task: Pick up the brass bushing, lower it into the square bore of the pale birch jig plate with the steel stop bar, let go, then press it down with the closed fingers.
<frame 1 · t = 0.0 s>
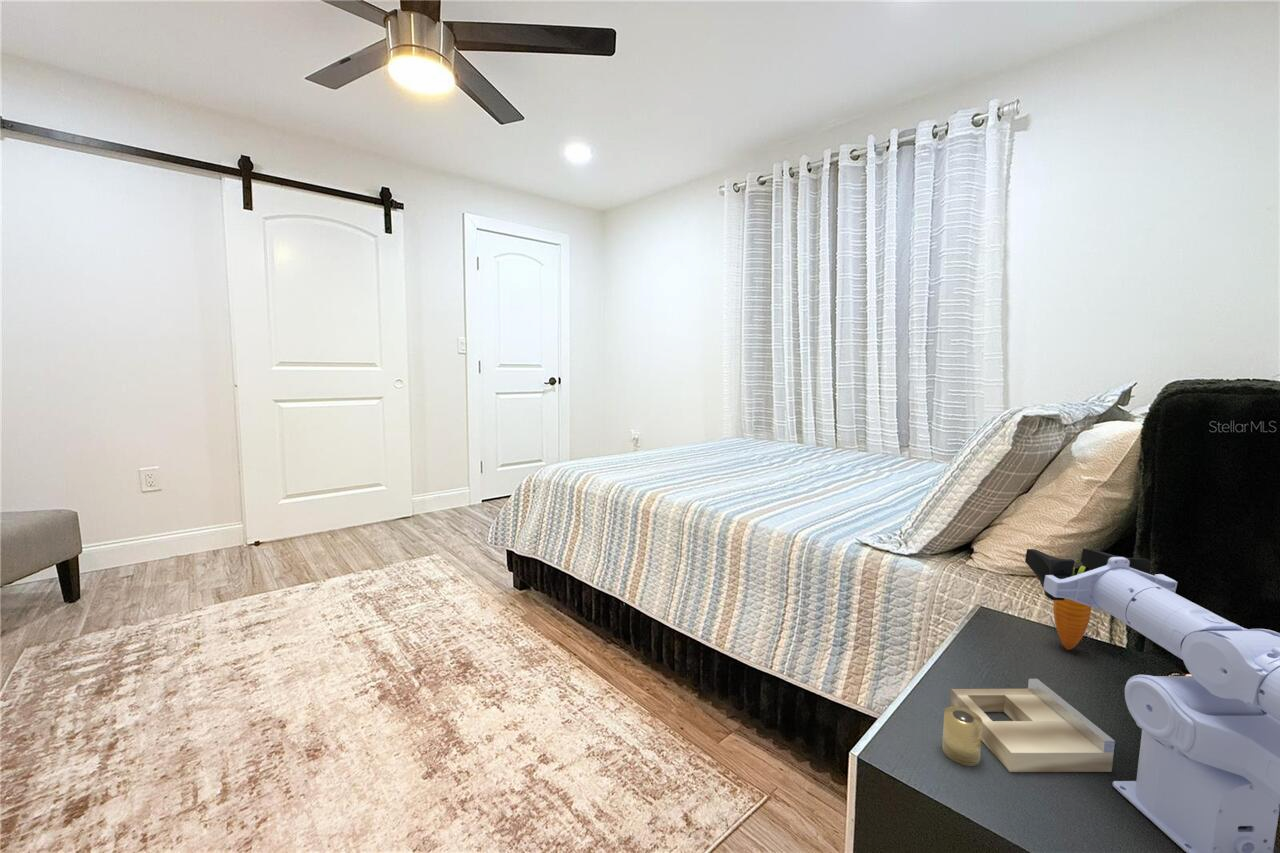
hand: (1056, 555, 71), 22 cm above the nightstand, tool horizontal, fingers open, 7 cm apart
jig: (1023, 735, 67), on the nightstand
carrot: (1067, 650, 86), on the nightstand
bushing: (960, 753, 64), on the nightstand
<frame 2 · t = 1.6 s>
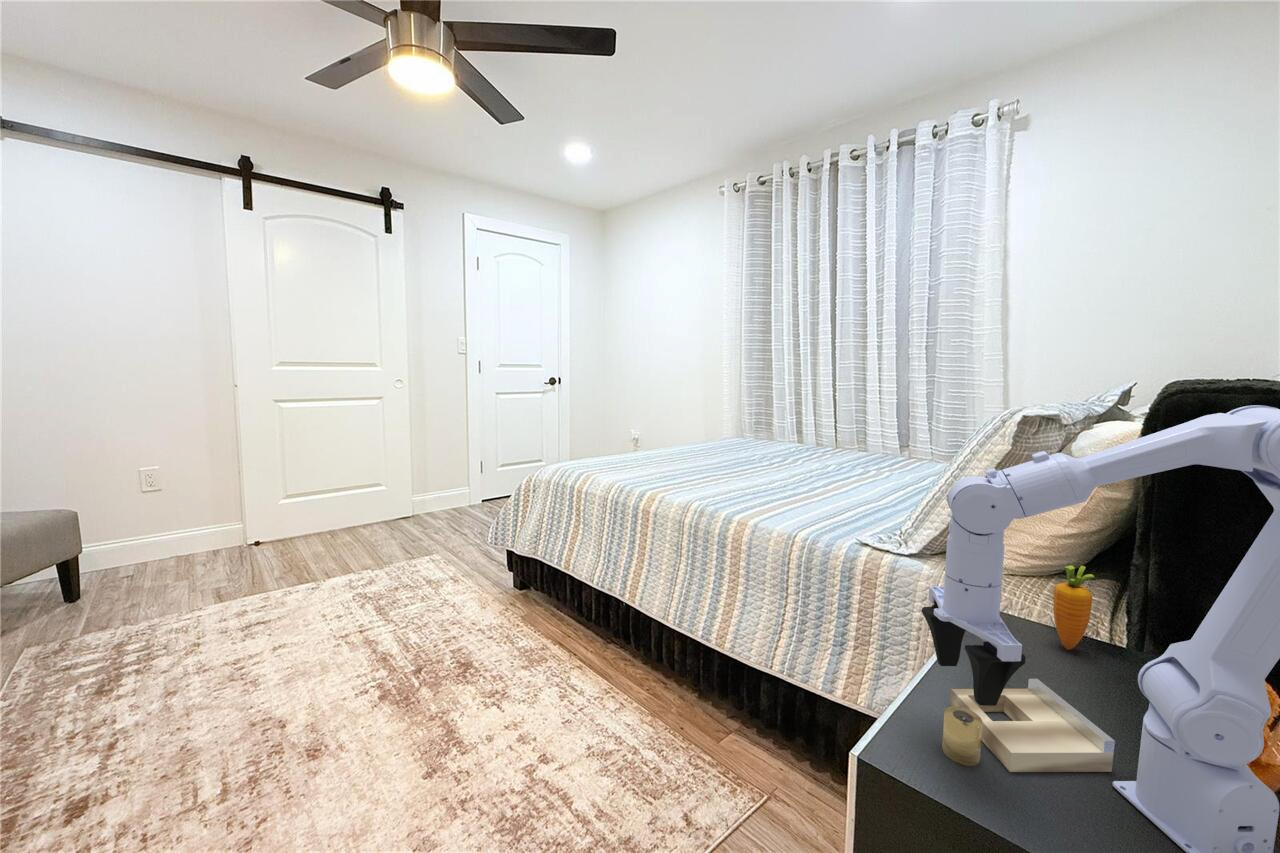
hand: (965, 683, 63), 9 cm above the nightstand, tool pointing down, fingers open, 7 cm apart
nothing on the nightstand moved.
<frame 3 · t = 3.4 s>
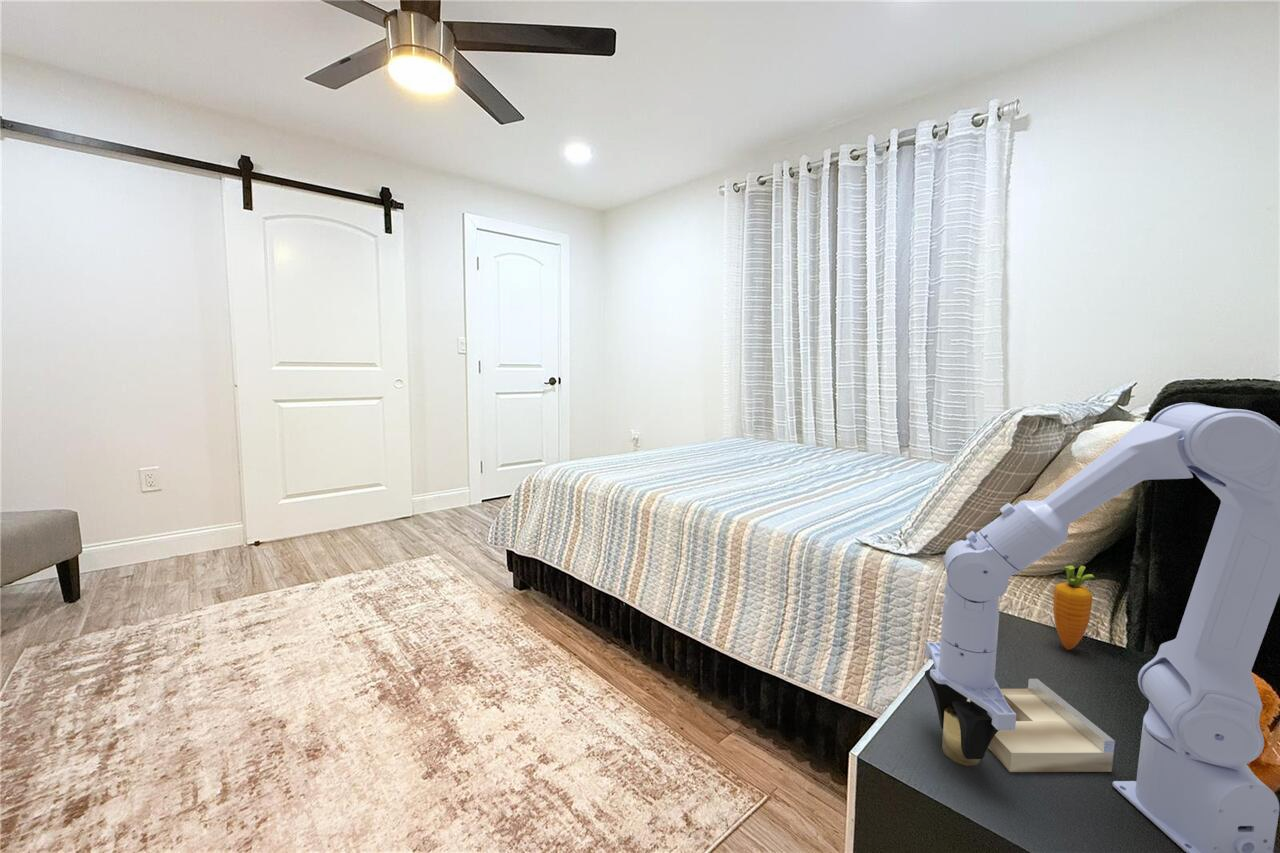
hand: (961, 742, 64), 1 cm above the nightstand, tool pointing down, fingers closed on bushing, 4 cm apart
bushing: (960, 753, 64), on the nightstand, touching gripper
everything else where it was.
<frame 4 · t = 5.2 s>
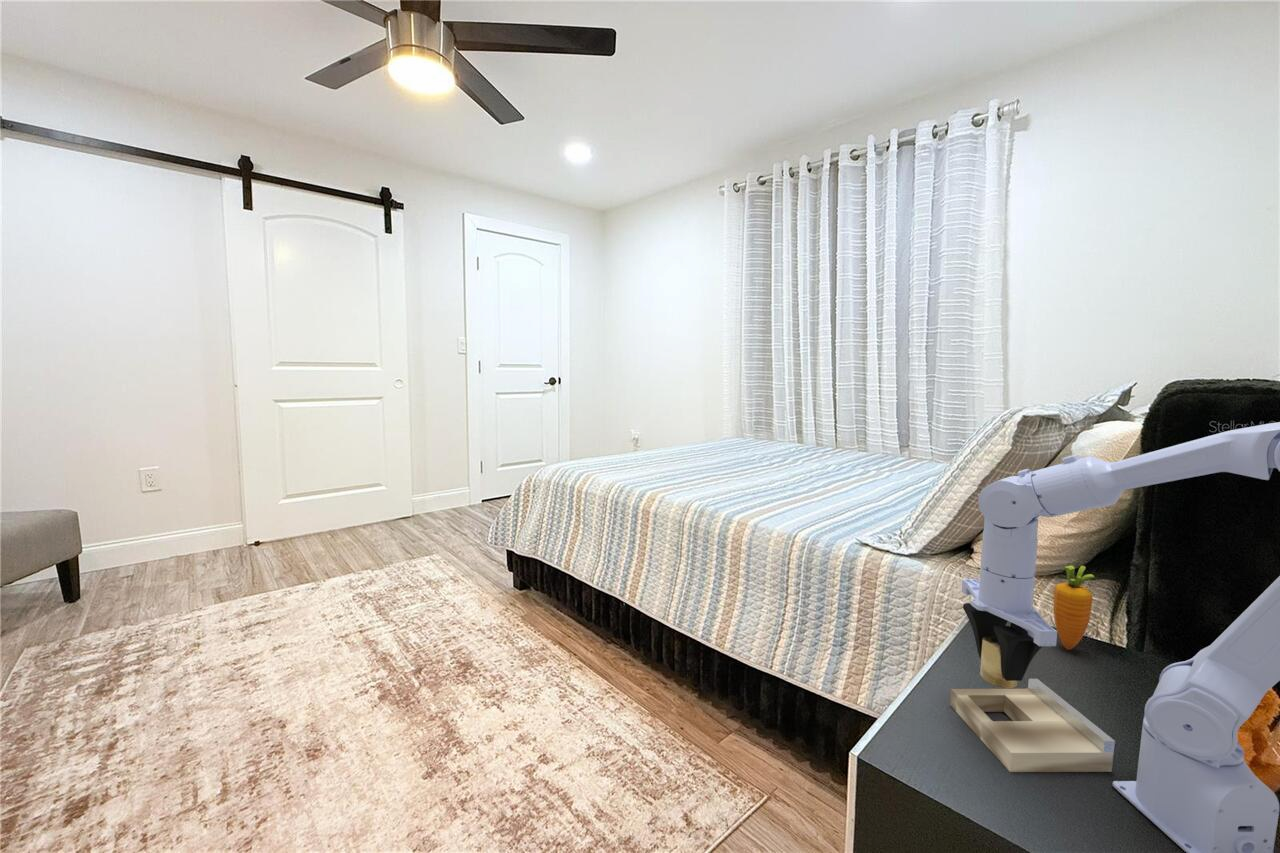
hand: (999, 668, 67), 8 cm above the nightstand, tool pointing down, fingers closed on bushing, 4 cm apart
bushing: (998, 678, 67), point 7 cm above the nightstand, touching gripper
everything else where it was.
when the fingers open (3 cm above the nightstand, at t = 6.9 s): bushing drops 2 cm, resting in jig.
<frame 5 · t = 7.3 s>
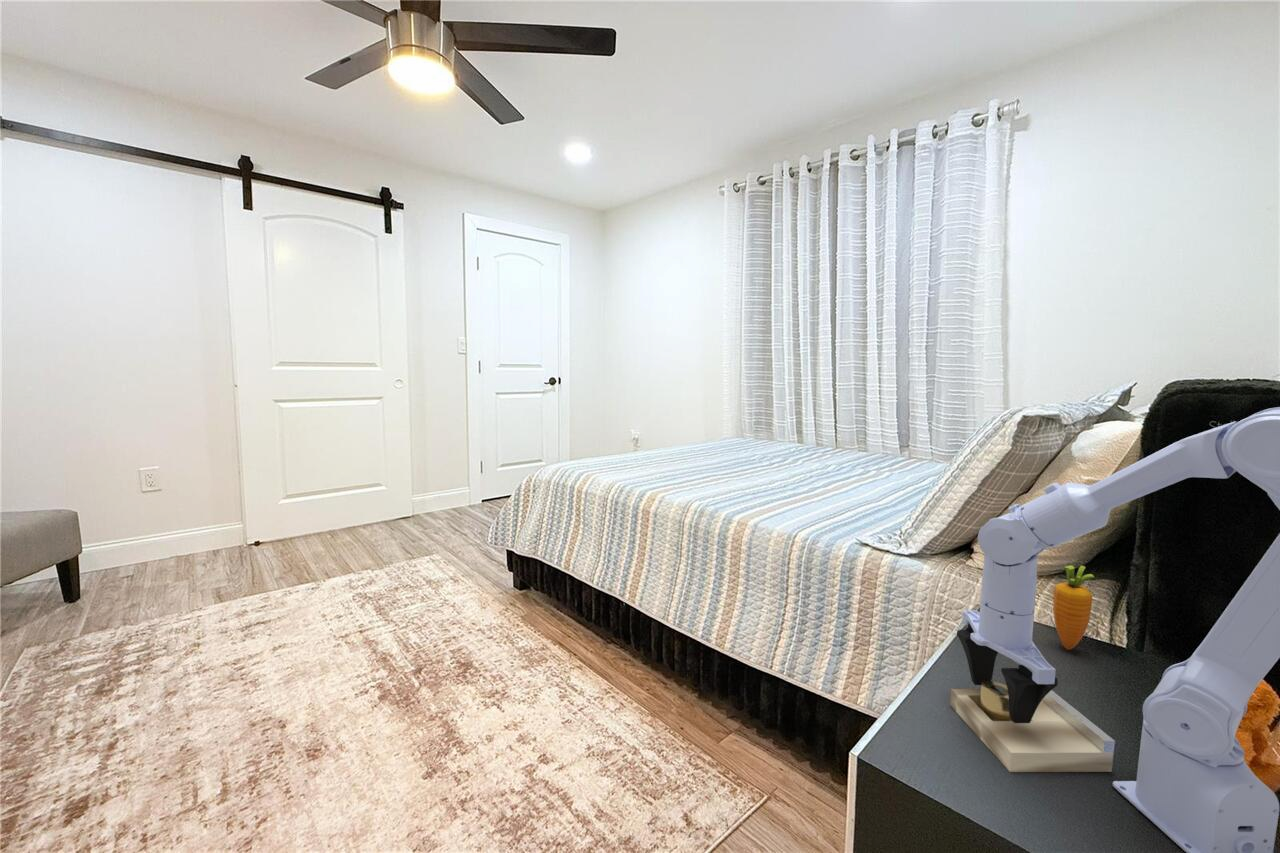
hand: (999, 701, 68), 3 cm above the nightstand, tool pointing down, fingers open, 7 cm apart
bushing: (996, 724, 69), resting in jig
everything else where it was.
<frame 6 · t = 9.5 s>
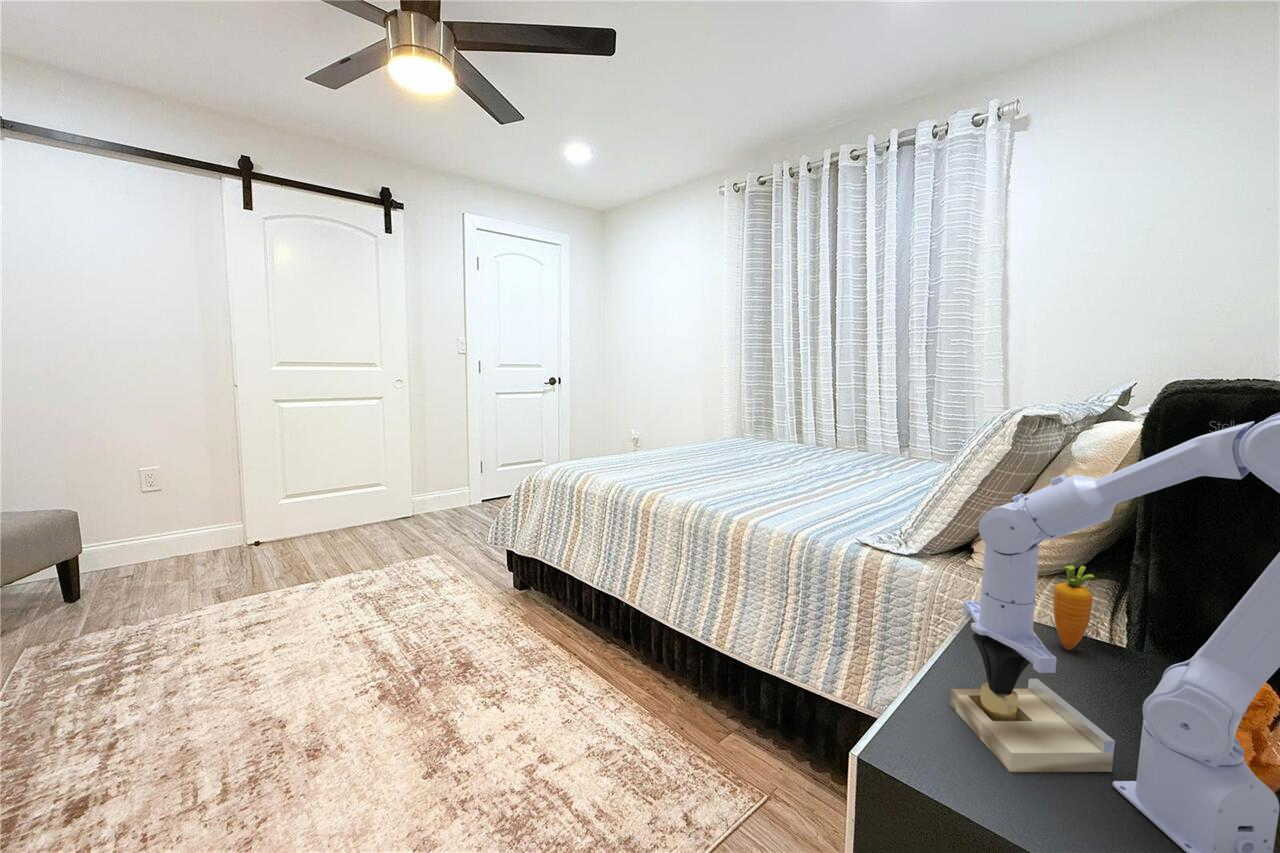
hand: (1000, 691, 68), 5 cm above the nightstand, tool pointing down, fingers closed, pressing on bushing
bushing: (996, 725, 69), resting in jig, touching gripper
everything else where it was.
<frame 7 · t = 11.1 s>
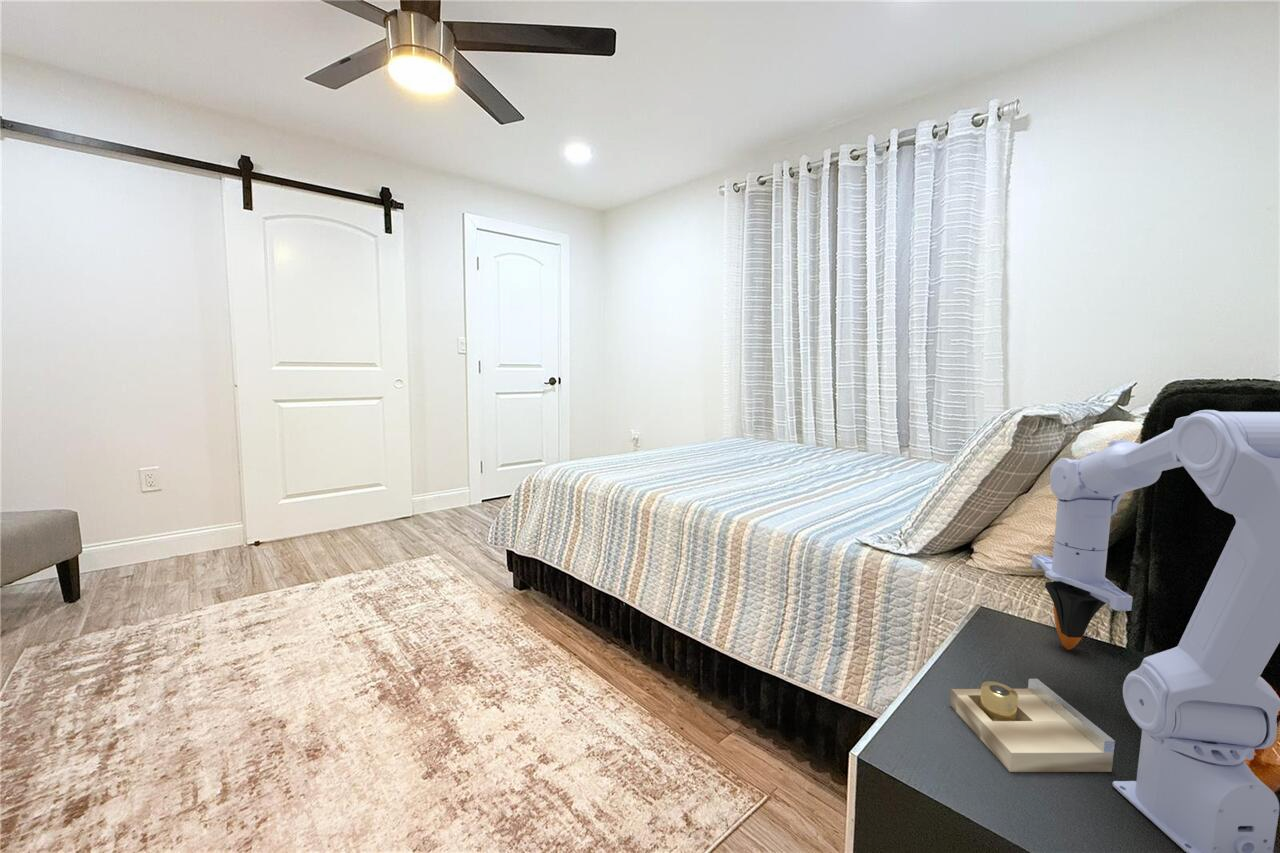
hand: (1071, 634, 73), 9 cm above the nightstand, tool pointing down, fingers closed
bushing: (996, 724, 69), resting in jig
everything else where it was.
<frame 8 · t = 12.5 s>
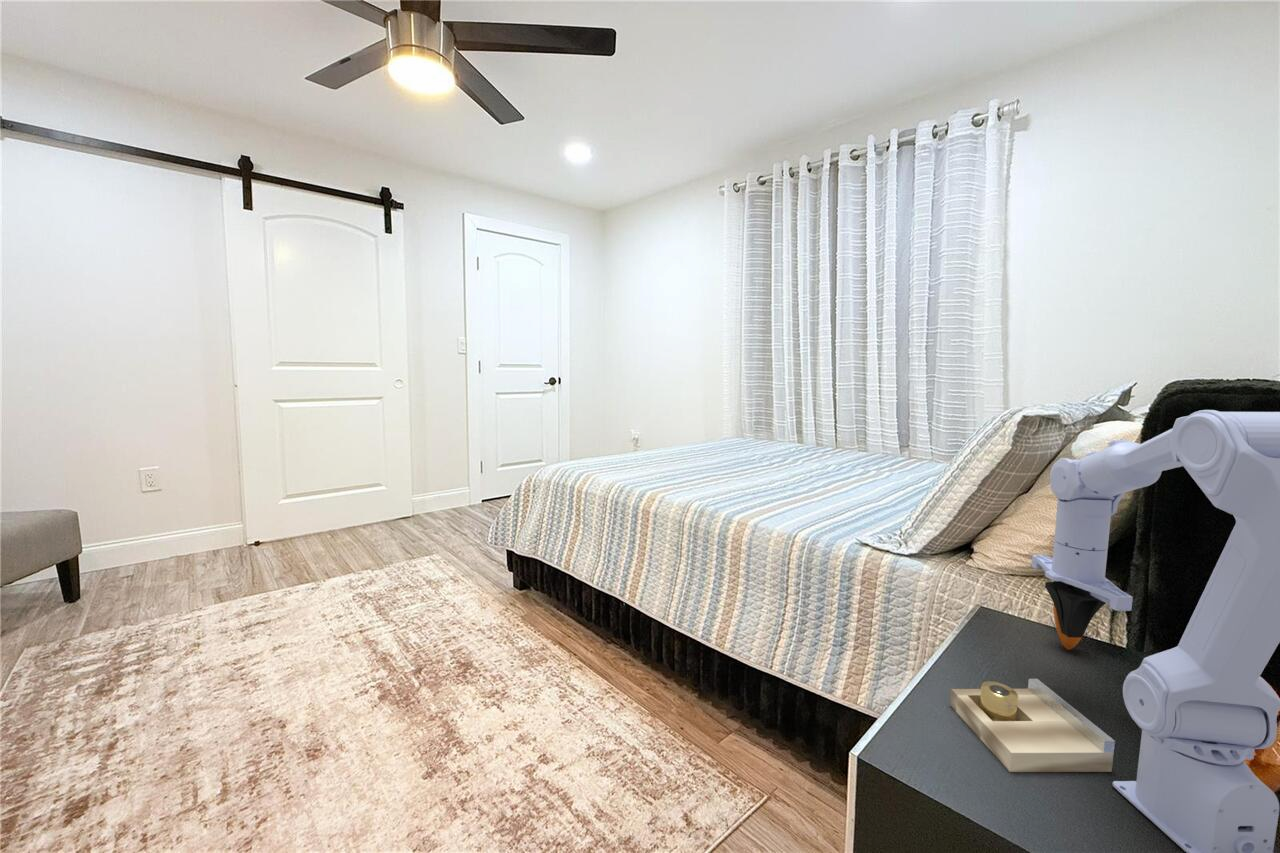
hand: (1071, 635, 73), 9 cm above the nightstand, tool pointing down, fingers closed
nothing on the nightstand moved.
at the end: bushing 0.1 cm from the target spot on the jig, point 0.0 cm above the jig's base; bushing tilted 0°; the gripper is holding nothing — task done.
